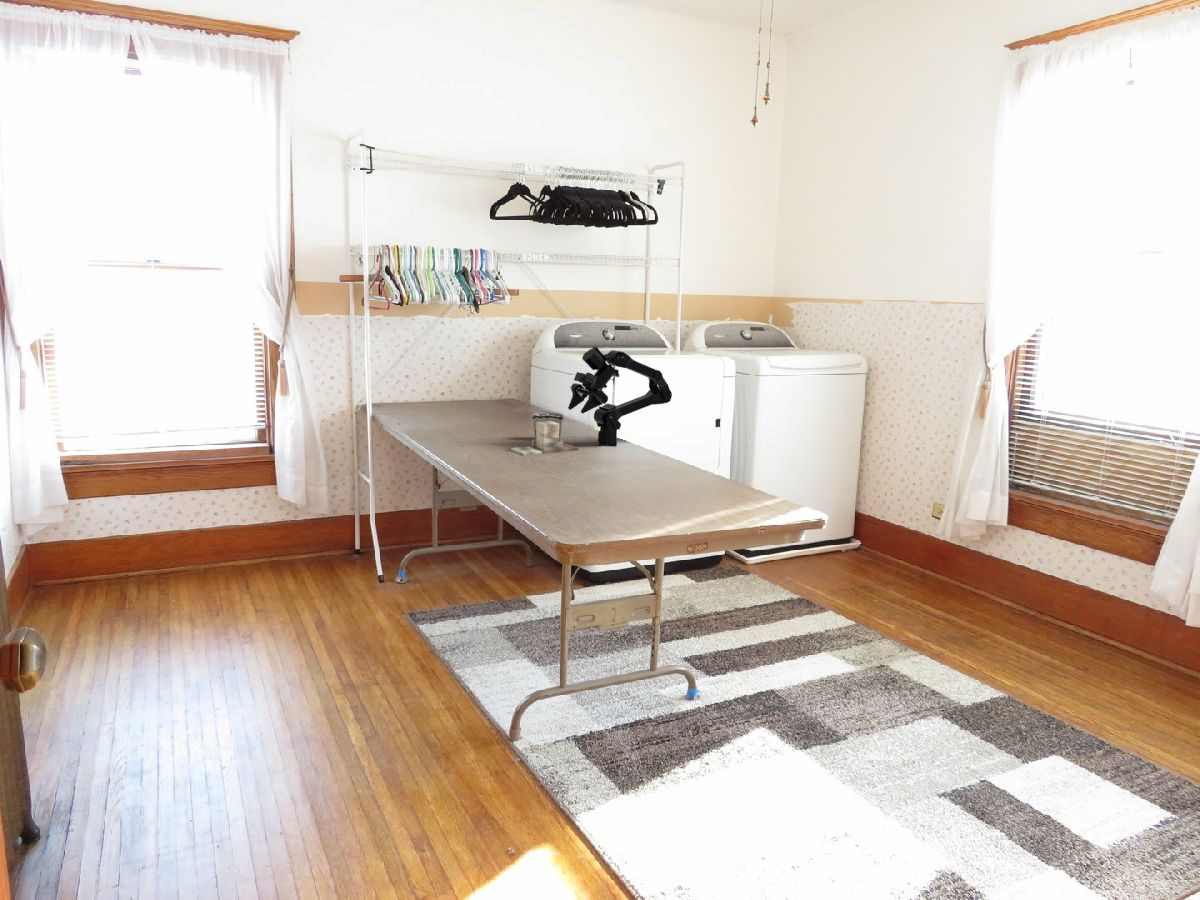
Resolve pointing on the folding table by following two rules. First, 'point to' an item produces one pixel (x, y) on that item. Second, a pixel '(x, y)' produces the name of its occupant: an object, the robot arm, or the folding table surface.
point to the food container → (548, 419)
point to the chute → (544, 448)
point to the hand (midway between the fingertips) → (575, 410)
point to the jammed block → (546, 433)
